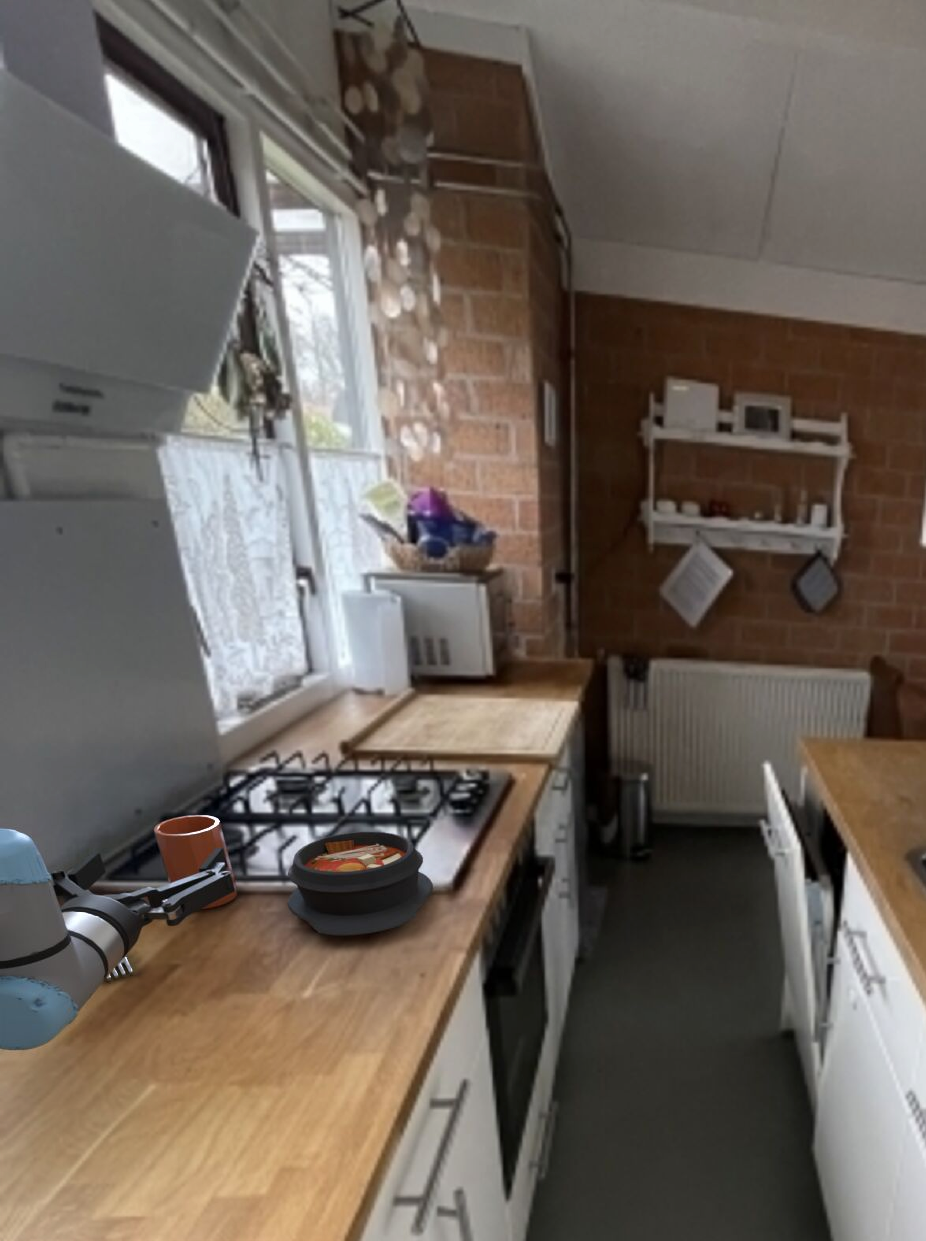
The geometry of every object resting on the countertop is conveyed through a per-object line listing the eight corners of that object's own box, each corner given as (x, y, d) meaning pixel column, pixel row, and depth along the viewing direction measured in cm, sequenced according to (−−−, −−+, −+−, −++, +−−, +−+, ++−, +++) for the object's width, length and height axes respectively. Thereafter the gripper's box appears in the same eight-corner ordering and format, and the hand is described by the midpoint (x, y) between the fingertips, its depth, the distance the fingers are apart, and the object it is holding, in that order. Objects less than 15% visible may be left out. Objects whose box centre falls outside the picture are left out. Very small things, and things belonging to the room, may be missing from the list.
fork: (83, 930, 113) (80, 923, 112) (107, 924, 114) (105, 918, 114) (107, 981, 103) (105, 974, 102) (134, 974, 104) (132, 967, 104)
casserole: (290, 879, 129) (278, 826, 125) (424, 862, 137) (416, 812, 133) (290, 958, 109) (276, 899, 106) (446, 934, 117) (438, 877, 113)
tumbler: (169, 895, 122) (148, 822, 117) (229, 881, 127) (210, 811, 122) (183, 914, 118) (161, 839, 113) (244, 900, 122) (225, 827, 117)
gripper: (-44, 981, 90) (55, 892, 108) (226, 963, 96) (277, 881, 114) (-73, 917, 86) (35, 836, 105) (209, 902, 92) (265, 828, 110)
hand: (161, 859), depth 109 cm, fingers open, 13 cm apart
